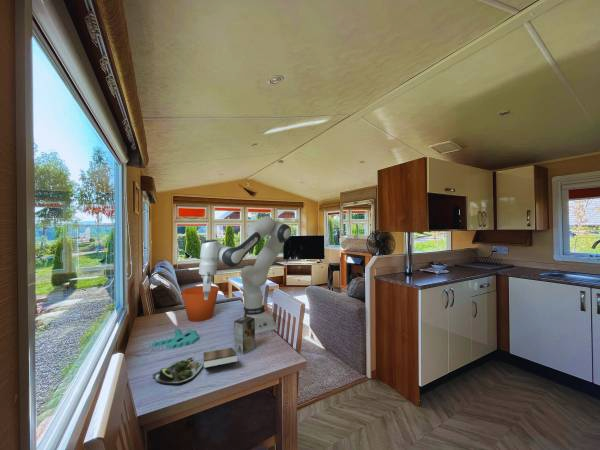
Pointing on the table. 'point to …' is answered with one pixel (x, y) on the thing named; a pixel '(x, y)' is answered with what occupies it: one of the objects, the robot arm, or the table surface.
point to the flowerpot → (199, 303)
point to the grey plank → (220, 361)
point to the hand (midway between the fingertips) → (205, 296)
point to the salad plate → (177, 372)
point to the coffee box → (244, 335)
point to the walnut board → (218, 354)
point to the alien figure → (179, 339)
